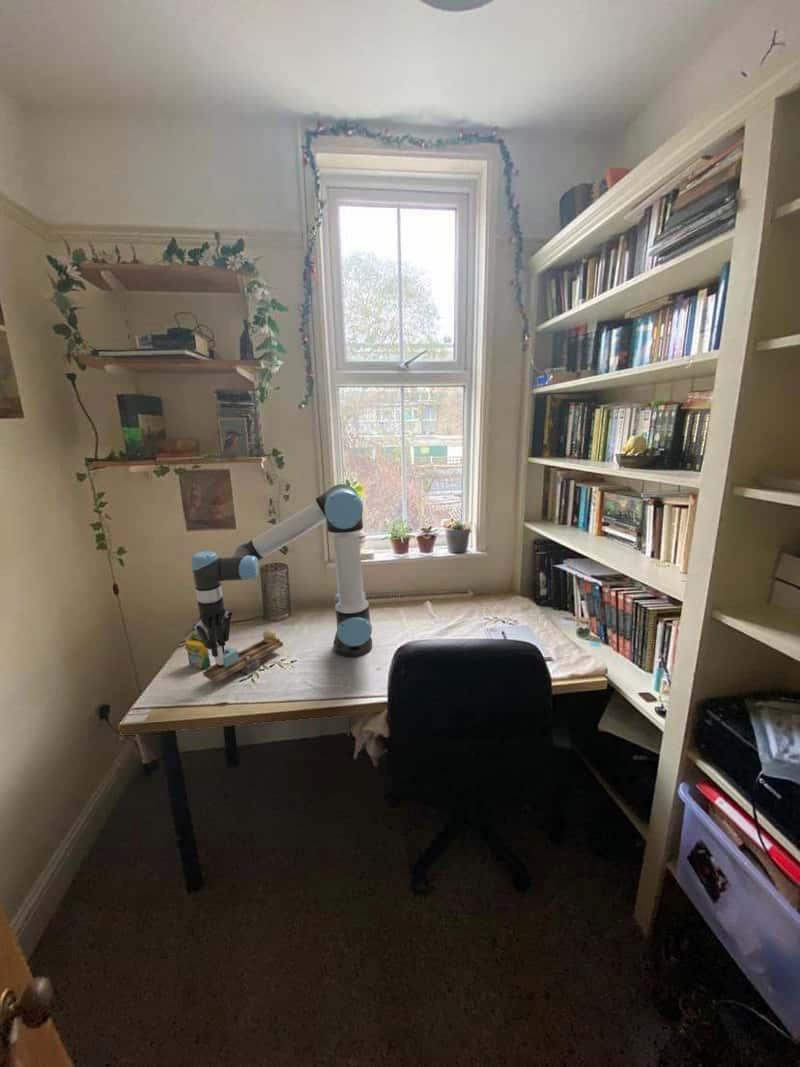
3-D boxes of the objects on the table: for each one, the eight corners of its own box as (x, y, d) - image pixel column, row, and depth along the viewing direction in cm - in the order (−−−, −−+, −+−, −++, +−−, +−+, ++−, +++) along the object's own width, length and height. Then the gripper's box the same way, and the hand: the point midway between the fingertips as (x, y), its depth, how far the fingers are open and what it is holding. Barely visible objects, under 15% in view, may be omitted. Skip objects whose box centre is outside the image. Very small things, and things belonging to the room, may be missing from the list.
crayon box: (189, 666, 153) (184, 637, 150) (195, 662, 156) (191, 634, 152) (204, 670, 150) (200, 641, 147) (211, 665, 153) (206, 637, 150)
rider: (231, 658, 149) (229, 645, 147) (239, 663, 146) (237, 649, 144) (218, 665, 145) (216, 651, 143) (226, 670, 142) (224, 655, 141)
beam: (270, 646, 165) (267, 626, 163) (285, 653, 160) (283, 633, 158) (203, 682, 143) (199, 660, 141) (218, 691, 138) (215, 668, 136)
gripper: (221, 589, 143) (230, 651, 149) (184, 603, 133) (195, 669, 139) (234, 594, 139) (243, 657, 145) (197, 609, 129) (208, 676, 135)
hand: (219, 663), depth 142 cm, fingers closed
